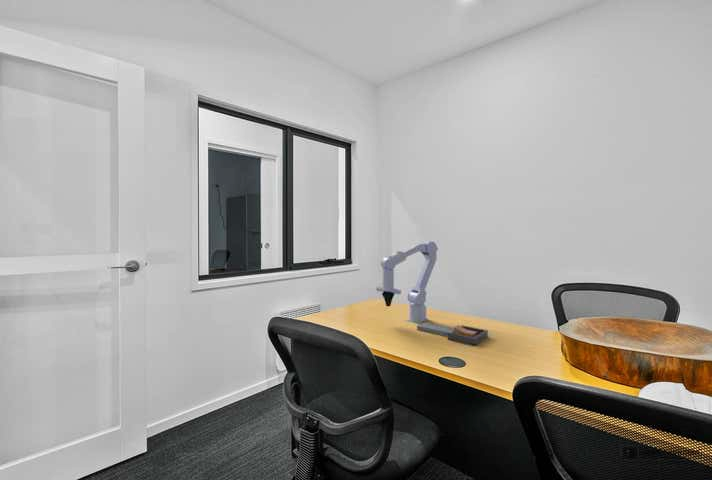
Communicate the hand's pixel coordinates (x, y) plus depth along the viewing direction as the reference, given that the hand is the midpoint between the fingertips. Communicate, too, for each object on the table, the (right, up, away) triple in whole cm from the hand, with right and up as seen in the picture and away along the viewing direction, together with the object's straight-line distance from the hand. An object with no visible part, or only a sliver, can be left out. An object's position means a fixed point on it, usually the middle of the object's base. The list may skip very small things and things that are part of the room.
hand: (388, 306), depth 173 cm
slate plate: (+23, -10, -13) cm, 28 cm away
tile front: (+35, -9, -24) cm, 43 cm away
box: (+34, -10, -24) cm, 42 cm away
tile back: (+31, -9, -21) cm, 38 cm away
